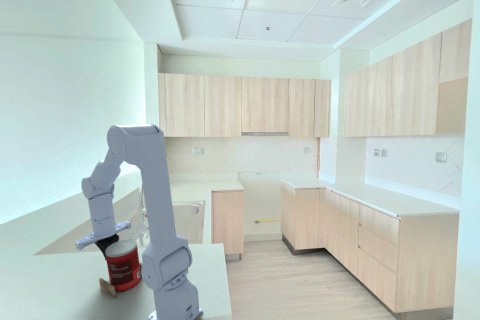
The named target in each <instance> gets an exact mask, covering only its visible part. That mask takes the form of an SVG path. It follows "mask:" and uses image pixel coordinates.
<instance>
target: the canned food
mask: <svg viewBox="0 0 480 320" xmlns="http://www.w3.org/2000/svg"><path fill="white" fill-rule="evenodd" d="M106 260H107V261H106ZM106 260H105V261H106V264H107V271H108V272H107V273H108V276H109V277H108V278H109V283H110V284H111V285H113V286H114V287H115V292H117V293H123V292H124V293H125V292H127V291H130V290H132V289H134V288H135V287H136V286H137V285H138V284H139V283H140V281H141V278H142V274H141V273H140V265H139V262H140V257H139V251H138V244H137V241H135V240H133V239H123V240H122V239H121V240H119V241H118V242H115V243H113V244H111V245H110V246H109V247H107V249H106Z"/></svg>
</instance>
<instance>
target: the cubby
mask: <svg viewBox="0 0 480 320" xmlns="http://www.w3.org/2000/svg"><path fill="white" fill-rule="evenodd" d="M139 265H140V273H141V268H142V262H140V261H139ZM98 282H99V287H100V290H101V291H103V292H104V293H106V294H108V295H109V296H110V297H111V298H113V299H116V298H117V293H116V291H115V287H114V286H113V285H111V284H110V282H108V281H106V280H105V279H103V278H102V277H100V278H99V279H98Z"/></svg>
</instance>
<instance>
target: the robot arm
mask: <svg viewBox="0 0 480 320" xmlns="http://www.w3.org/2000/svg"><path fill="white" fill-rule="evenodd" d="M106 143H107V146H108V149H107V152H106V156H105V157H104V159H102V160H98V162H97V163H96V165H95V167H94V169H93V170H92V172H91V174H90V176H85V177H83V178H82V180H81V183H80V184H81V191H82V194H83V196H84V197H85V198H86V200H87V204H88V210H89V215H90V222H91V226H92V233H90V234H88V235H86V236H84V237H82V238H81V239H78V240H76V241H75V242H74V244H75V249H76V250H78V251H81V250H84V248H86V247H87V246H90V245H92V244H95V245H96V246H97V248H98V249H99V250H100V251H101V253H102V256H103V257H104V260H105V261H106V262H107V260H106V249H107V247H109V246H110V245H111V244H113V243H115V242H118V241H120V235H119V234H118V233H120V232H123V231H124V230H127V229H128V230H129V229H131V228H132V221H129V220H126V221H123V222H120V223H117V224H116V216H115V210H114V205H113V204H114V203H113V200H114V196H115V195H114V192H115V184H114V183H115V181H116V180H117V179H118V177H119V176H120V173H121V171H122V170H121V166H122V164H123V163H124V162H125V163H127V164H128V165H132V166H135V167H137V168H138V170H139V171H140V176H141V183H142V184H141V185H142V190H143V196H144V197H143V198H144V205H145V210H146V218H147V223H148V231H149V238H150V240H149V243H148V244H147V246H146V247H145V249H144V250H143V252H142V254H141V263H142V268H141V278H142V280H143V282H144V284H145V285H146V287H147V288H149V289H150V290H153V298H154V305H155V310H154V311H152V312H151V313H150V315H148V316H147V318H148V320H196V318H197V317H199V315H201V313H202V312H203V309H202V307H200V303H199V299H200V298H199V290H198V288H197V287H196V285H195V284H193V283H192V282H190V280H189V279H188V277H187V276H188V274H189V268H190V267H191V266H192V264H193V254H192V251H191V249H190V246H189V242H188V241H189V240H188V239H187V238H186V237H184V236H183V235H180V234H177V232H176V224H175V223H176V221H175V216H174V209H173V208H174V206H173V200H172V199H173V198H172V191H171V185H170V184H171V183H170V177H169V176H170V175H169V168H168V160H167V158H168V157H167V155H168V154H167V147H166V140H165V133H164V131H163V130H162V129H161V128H160V127H159V126H158V125H156V124H154V123H149V124H129V125H127V124H125V125H124V124H123V125H119V124H112V125H111V126H110V127H109V128H108V130H107V133H106Z"/></svg>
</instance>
